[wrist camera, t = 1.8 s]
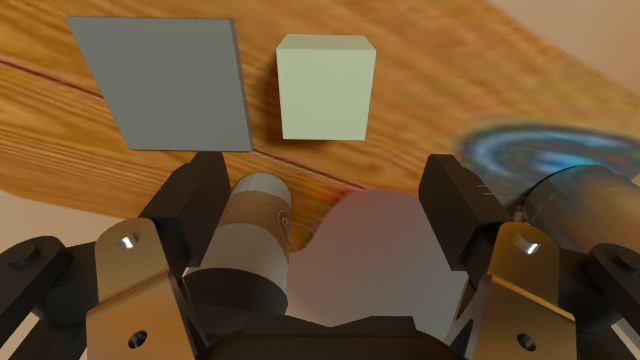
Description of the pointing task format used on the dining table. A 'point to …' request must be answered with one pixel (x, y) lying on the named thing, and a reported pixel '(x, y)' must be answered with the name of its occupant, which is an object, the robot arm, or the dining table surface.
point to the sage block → (325, 86)
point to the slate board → (169, 80)
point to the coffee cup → (244, 258)
